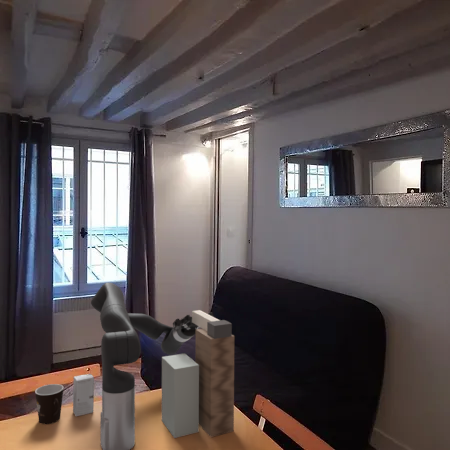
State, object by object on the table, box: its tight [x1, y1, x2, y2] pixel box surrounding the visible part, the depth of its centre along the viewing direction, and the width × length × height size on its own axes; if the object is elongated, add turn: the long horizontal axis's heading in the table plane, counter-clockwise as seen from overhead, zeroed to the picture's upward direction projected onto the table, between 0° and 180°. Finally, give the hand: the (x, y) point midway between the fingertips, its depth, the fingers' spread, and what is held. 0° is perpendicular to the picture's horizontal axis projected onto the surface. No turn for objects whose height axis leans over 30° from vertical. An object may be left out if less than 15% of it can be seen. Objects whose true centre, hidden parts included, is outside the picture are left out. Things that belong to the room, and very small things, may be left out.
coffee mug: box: [34, 383, 64, 425], centre depth 133 cm, size 12×9×10 cm
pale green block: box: [161, 353, 200, 439], centre depth 131 cm, size 8×12×21 cm, turn 27°
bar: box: [191, 309, 233, 339], centre depth 135 cm, size 6×21×4 cm, turn 27°
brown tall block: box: [194, 328, 235, 438], centre depth 131 cm, size 8×12×30 cm, turn 27°
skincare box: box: [72, 373, 95, 417], centre depth 140 cm, size 6×4×12 cm
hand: (200, 316), depth 141 cm, fingers open, 8 cm apart
